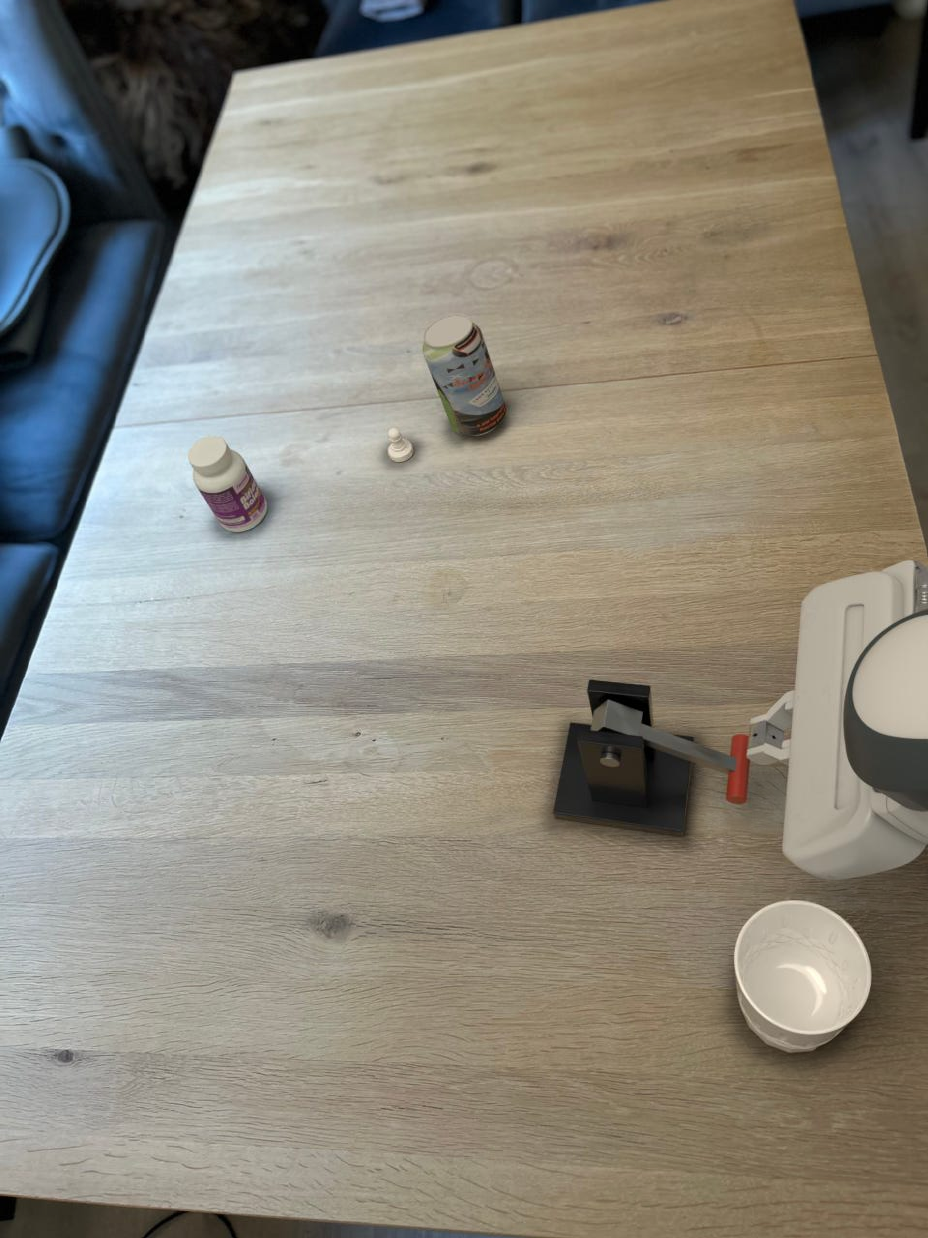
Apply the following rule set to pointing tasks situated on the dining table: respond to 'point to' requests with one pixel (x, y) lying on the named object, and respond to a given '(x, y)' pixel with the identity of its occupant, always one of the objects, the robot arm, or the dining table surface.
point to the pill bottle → (226, 484)
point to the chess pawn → (399, 446)
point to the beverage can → (464, 375)
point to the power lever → (679, 746)
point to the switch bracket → (622, 772)
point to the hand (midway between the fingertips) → (754, 742)
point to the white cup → (800, 974)
